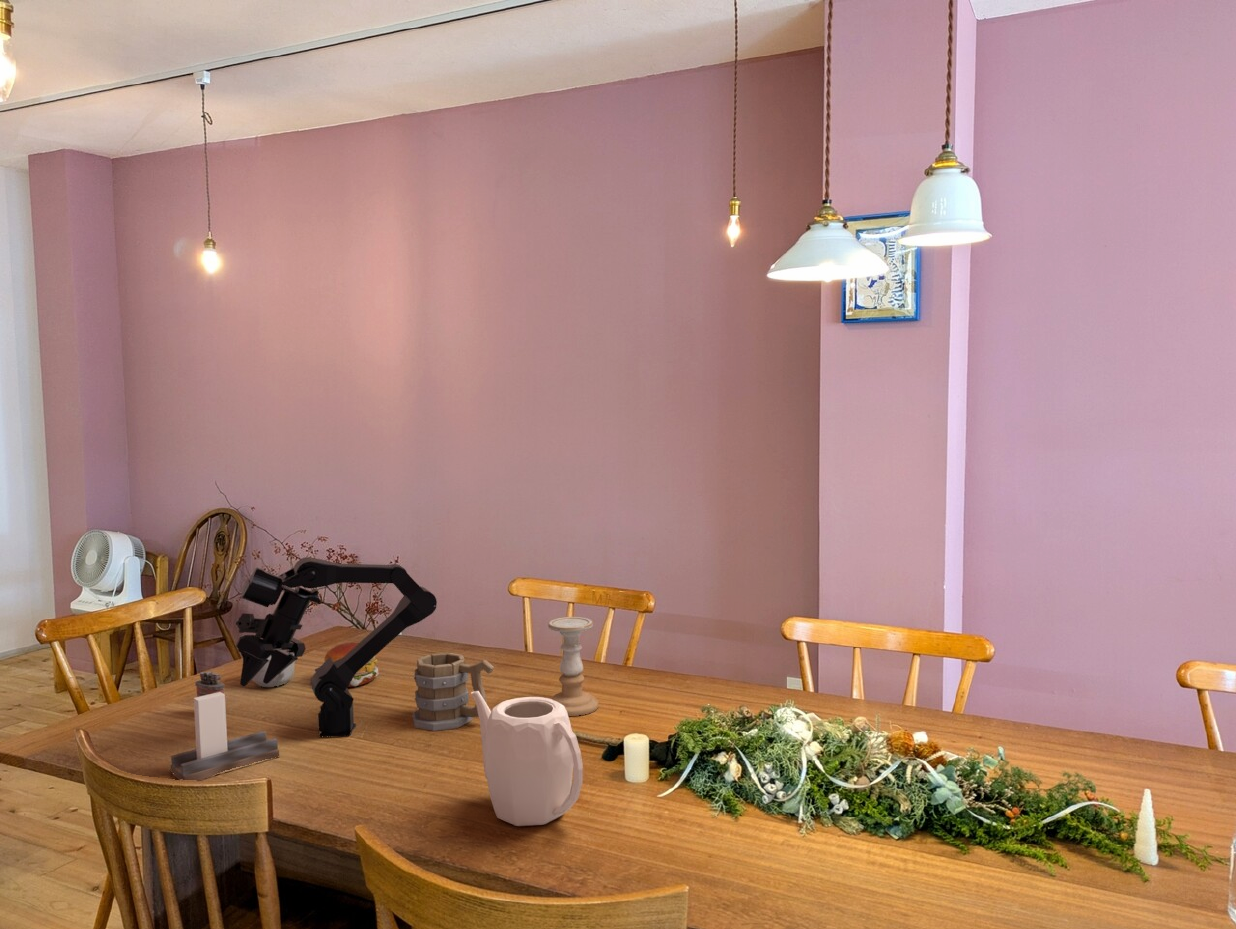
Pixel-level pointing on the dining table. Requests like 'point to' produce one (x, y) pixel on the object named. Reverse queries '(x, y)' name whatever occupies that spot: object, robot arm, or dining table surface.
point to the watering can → (529, 759)
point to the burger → (364, 673)
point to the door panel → (210, 724)
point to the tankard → (446, 691)
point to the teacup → (278, 680)
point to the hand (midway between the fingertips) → (254, 684)
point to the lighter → (209, 684)
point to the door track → (225, 757)
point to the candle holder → (572, 667)
